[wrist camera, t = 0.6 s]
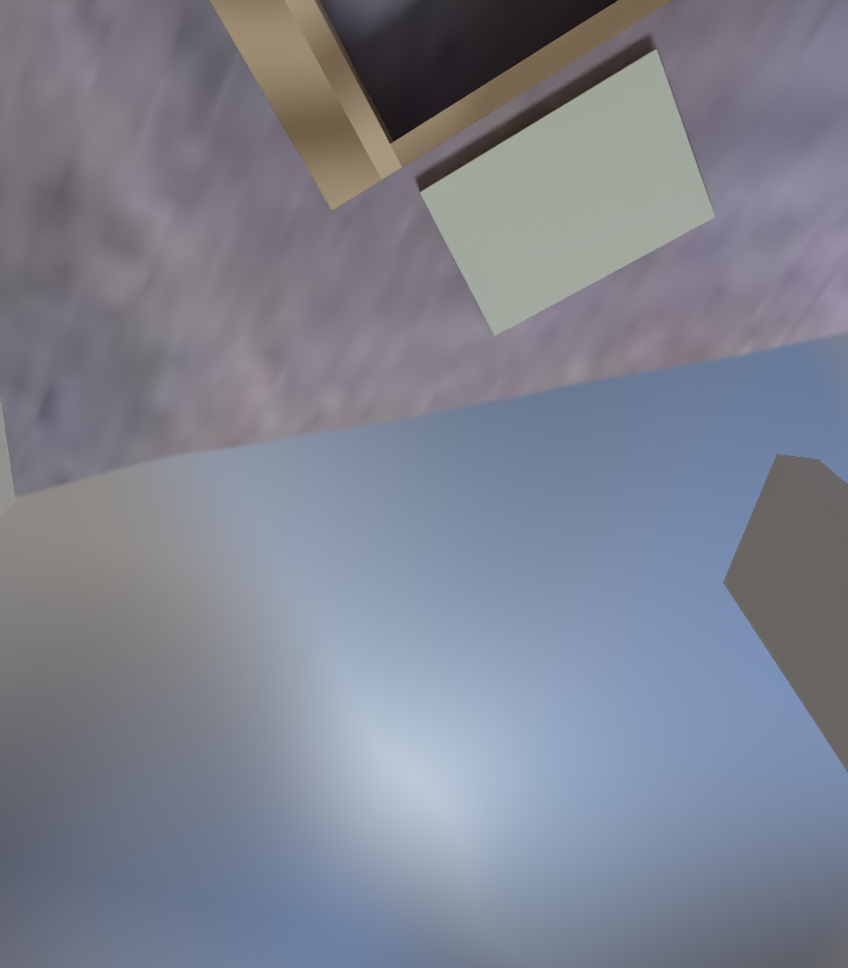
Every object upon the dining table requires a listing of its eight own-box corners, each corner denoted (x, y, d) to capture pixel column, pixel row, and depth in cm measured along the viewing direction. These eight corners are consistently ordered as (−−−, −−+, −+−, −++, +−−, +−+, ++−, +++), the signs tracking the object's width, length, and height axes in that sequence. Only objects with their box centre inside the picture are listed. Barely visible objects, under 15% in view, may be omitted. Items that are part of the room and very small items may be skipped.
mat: (419, 191, 34) (419, 192, 34) (652, 50, 31) (656, 49, 31) (493, 333, 37) (494, 335, 37) (710, 215, 35) (715, 217, 34)
